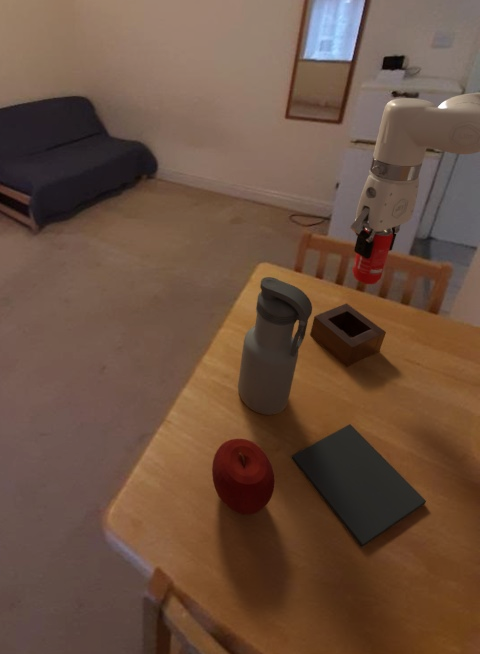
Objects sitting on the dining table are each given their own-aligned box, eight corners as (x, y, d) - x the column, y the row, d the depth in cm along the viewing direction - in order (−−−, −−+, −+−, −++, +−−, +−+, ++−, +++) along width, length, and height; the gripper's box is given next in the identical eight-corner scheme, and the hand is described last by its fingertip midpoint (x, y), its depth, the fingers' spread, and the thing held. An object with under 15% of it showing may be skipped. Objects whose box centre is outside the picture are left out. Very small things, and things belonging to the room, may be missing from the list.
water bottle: (296, 391, 83) (321, 284, 71) (279, 428, 76) (303, 316, 64) (249, 366, 89) (264, 263, 76) (229, 398, 82) (242, 290, 70)
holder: (341, 321, 100) (346, 303, 97) (379, 351, 91) (386, 332, 89) (310, 335, 96) (314, 316, 94) (346, 367, 88) (352, 347, 85)
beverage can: (355, 284, 83) (367, 234, 77) (348, 268, 87) (360, 220, 82) (383, 287, 81) (398, 236, 76) (375, 271, 86) (389, 223, 81)
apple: (279, 492, 67) (288, 456, 62) (252, 545, 60) (259, 509, 56) (228, 453, 73) (233, 417, 68) (198, 497, 66) (201, 461, 62)
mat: (349, 427, 76) (350, 423, 75) (424, 504, 64) (426, 501, 64) (291, 458, 71) (292, 455, 71) (361, 548, 60) (362, 544, 59)
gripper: (380, 185, 67) (358, 273, 75) (447, 166, 73) (420, 249, 81) (342, 170, 74) (325, 252, 82) (406, 153, 79) (385, 232, 87)
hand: (372, 250), depth 81 cm, fingers closed on beverage can, 5 cm apart
